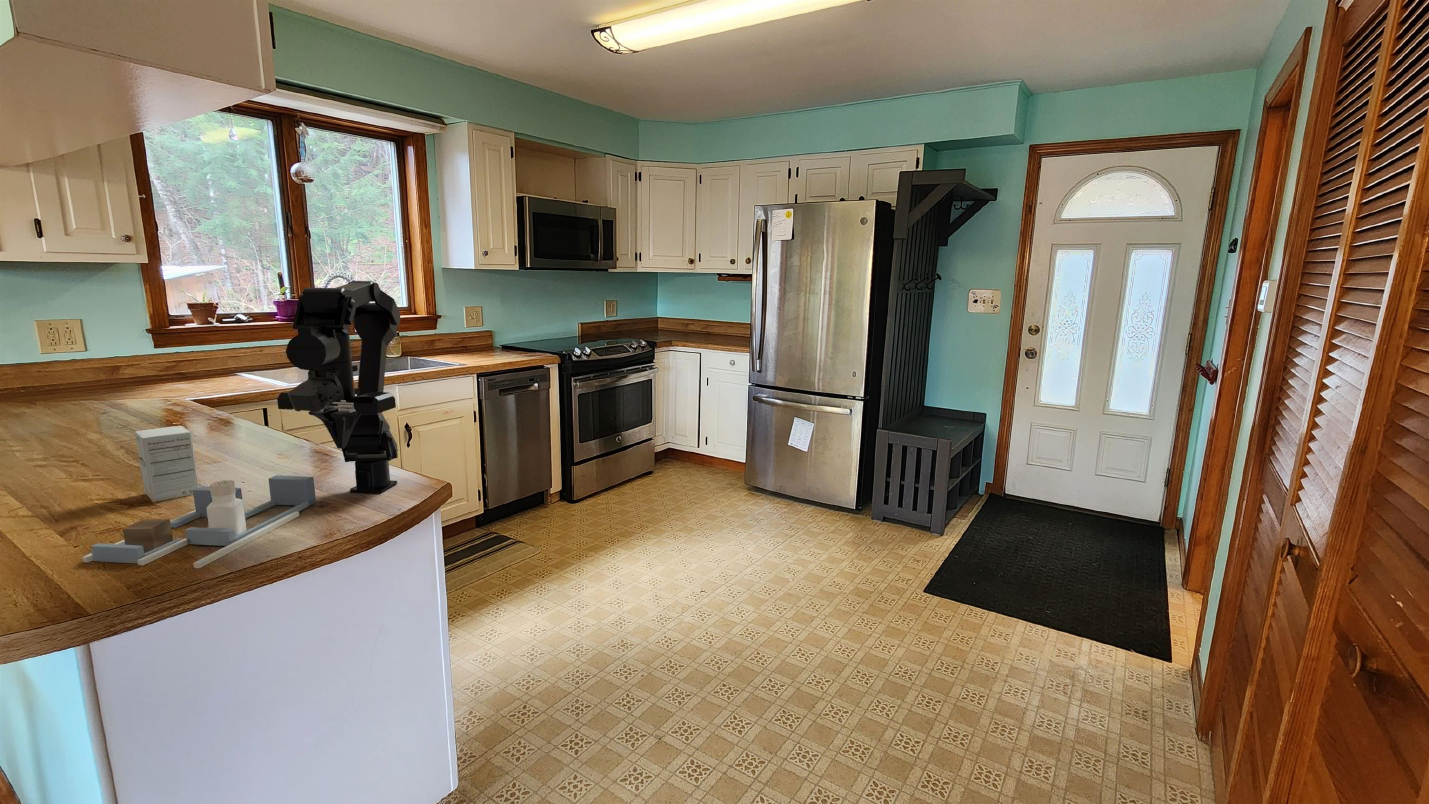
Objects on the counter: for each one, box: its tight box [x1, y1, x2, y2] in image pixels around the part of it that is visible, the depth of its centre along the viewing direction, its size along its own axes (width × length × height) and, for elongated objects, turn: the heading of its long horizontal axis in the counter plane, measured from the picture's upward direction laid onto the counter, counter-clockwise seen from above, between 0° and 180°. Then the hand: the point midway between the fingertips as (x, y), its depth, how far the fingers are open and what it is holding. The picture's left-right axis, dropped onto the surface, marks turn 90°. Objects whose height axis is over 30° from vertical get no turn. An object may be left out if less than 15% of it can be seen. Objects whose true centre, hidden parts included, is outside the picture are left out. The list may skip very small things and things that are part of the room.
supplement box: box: [134, 425, 199, 503], centre depth 124 cm, size 7×7×13 cm
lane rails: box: [81, 508, 300, 569], centre depth 105 cm, size 21×18×1 cm
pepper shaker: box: [206, 479, 248, 536], centre depth 104 cm, size 4×4×10 cm
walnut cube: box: [122, 518, 174, 553], centre depth 101 cm, size 4×4×4 cm
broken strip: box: [90, 485, 244, 564], centre depth 105 cm, size 20×7×5 cm, turn 176°
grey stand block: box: [184, 474, 317, 547], centre depth 111 cm, size 20×7×5 cm, turn 176°
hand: (341, 448), depth 114 cm, fingers closed
